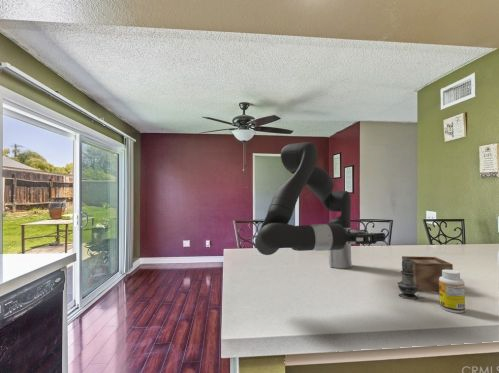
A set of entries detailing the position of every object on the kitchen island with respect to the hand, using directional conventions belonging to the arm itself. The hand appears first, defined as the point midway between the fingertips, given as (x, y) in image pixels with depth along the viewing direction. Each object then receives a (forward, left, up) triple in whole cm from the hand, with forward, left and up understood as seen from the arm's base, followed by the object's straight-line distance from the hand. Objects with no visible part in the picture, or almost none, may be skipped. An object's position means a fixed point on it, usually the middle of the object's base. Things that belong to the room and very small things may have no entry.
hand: (374, 234), depth 83 cm
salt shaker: (+10, +4, -19) cm, 22 cm away
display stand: (+20, +15, -19) cm, 32 cm away
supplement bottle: (+18, -5, -19) cm, 27 cm away
